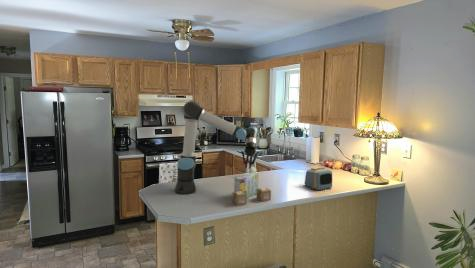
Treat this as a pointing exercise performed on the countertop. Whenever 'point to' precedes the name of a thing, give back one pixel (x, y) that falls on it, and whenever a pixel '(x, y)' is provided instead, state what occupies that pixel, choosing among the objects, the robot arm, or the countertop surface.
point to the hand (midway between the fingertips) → (247, 172)
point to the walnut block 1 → (239, 198)
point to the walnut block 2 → (263, 194)
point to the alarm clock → (318, 178)
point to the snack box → (247, 183)
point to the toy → (253, 169)
